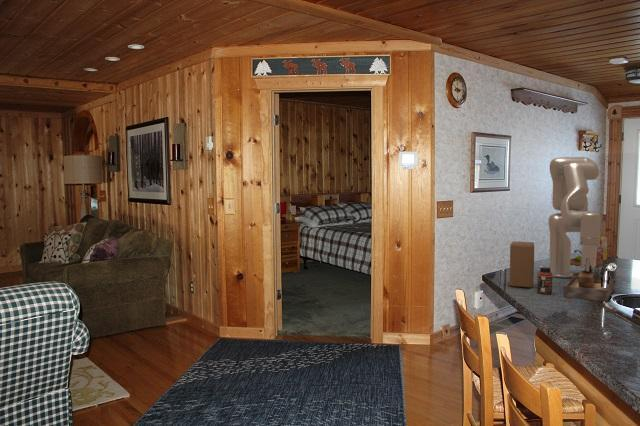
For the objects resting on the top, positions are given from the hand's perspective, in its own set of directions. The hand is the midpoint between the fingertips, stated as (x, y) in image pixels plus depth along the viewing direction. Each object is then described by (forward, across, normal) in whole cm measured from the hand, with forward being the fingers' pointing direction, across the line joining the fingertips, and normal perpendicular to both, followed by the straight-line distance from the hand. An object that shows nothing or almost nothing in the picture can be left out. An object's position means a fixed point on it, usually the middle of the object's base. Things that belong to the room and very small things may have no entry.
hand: (588, 283), depth 213 cm
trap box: (+4, -3, 0) cm, 5 cm away
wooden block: (+5, -3, -28) cm, 29 cm away
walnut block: (+1, +4, 0) cm, 4 cm away
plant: (+5, -77, -11) cm, 78 cm away
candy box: (+4, -95, -6) cm, 95 cm away
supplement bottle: (+5, +8, -16) cm, 18 cm away
